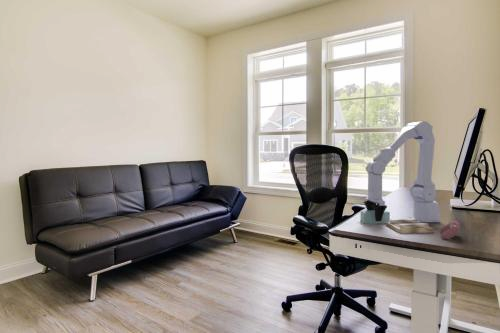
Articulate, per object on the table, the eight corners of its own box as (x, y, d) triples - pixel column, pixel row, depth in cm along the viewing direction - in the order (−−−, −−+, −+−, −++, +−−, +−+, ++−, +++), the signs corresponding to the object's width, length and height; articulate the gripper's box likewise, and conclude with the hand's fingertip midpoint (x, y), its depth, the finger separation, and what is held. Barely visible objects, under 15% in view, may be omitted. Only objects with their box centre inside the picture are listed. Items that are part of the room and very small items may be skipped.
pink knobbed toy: (452, 245, 104) (464, 228, 102) (439, 237, 106) (450, 221, 104) (451, 237, 113) (462, 222, 111) (438, 230, 115) (449, 215, 113)
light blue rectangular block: (384, 221, 133) (385, 210, 133) (389, 223, 129) (389, 212, 129) (360, 221, 134) (360, 210, 133) (364, 224, 129) (364, 212, 129)
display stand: (416, 225, 125) (416, 218, 125) (433, 232, 114) (433, 224, 114) (386, 225, 125) (386, 218, 125) (399, 233, 114) (399, 225, 114)
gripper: (359, 186, 138) (359, 215, 138) (373, 190, 123) (372, 223, 124) (374, 186, 138) (374, 215, 138) (389, 190, 123) (389, 222, 124)
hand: (374, 218), depth 131 cm, fingers open, 7 cm apart
